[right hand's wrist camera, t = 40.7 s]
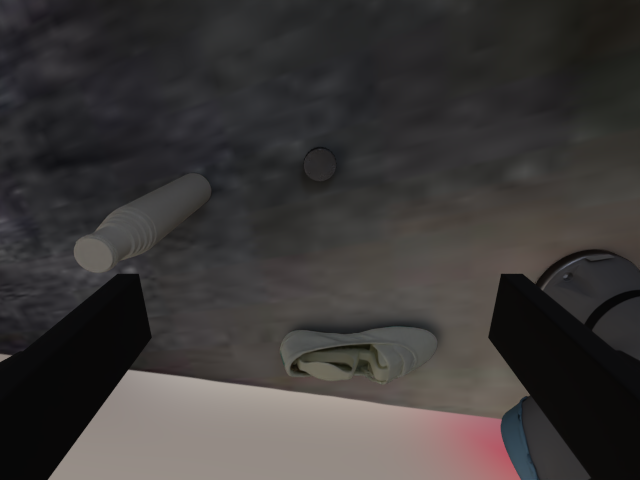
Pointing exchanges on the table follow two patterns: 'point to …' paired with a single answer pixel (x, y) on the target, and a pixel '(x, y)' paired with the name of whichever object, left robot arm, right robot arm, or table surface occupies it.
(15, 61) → the table surface
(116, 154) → the table surface
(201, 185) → the bottle
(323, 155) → the cap
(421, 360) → the ballet flat
